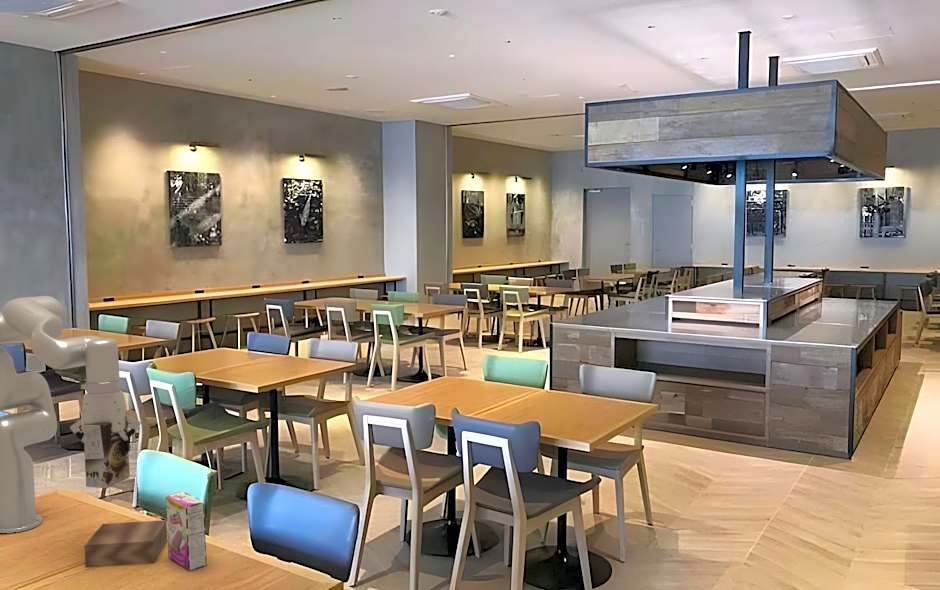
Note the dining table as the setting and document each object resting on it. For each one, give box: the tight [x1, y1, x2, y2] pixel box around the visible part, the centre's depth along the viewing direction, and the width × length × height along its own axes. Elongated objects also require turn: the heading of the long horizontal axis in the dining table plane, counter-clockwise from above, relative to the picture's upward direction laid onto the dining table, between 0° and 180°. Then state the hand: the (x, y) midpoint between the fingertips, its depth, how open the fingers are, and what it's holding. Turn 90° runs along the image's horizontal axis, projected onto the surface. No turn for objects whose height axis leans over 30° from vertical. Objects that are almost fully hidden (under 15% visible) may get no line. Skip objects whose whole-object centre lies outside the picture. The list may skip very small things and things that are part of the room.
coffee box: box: [83, 423, 131, 489], centre depth 195 cm, size 9×6×16 cm
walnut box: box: [84, 519, 168, 568], centre depth 197 cm, size 16×14×6 cm
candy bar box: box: [165, 491, 207, 572], centre depth 191 cm, size 11×5×16 cm, turn 47°
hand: (107, 455), depth 195 cm, fingers closed on coffee box, 7 cm apart
